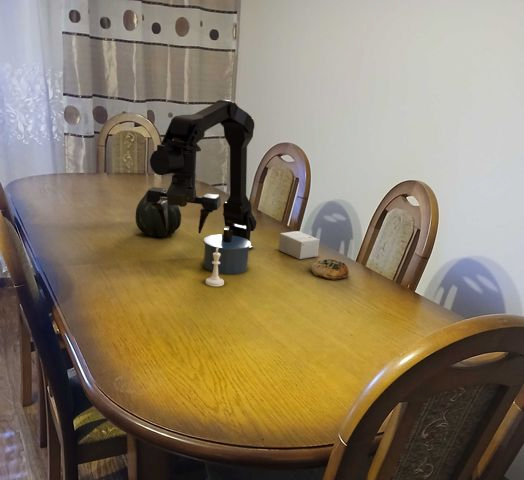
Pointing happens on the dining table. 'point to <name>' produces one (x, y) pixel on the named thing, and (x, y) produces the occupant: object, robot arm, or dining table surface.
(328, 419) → the dining table surface
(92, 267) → the dining table surface
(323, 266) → the bread roll
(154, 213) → the squash
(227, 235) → the pot lid
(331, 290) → the dining table surface
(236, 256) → the pot
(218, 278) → the chess piece
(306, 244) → the small box
